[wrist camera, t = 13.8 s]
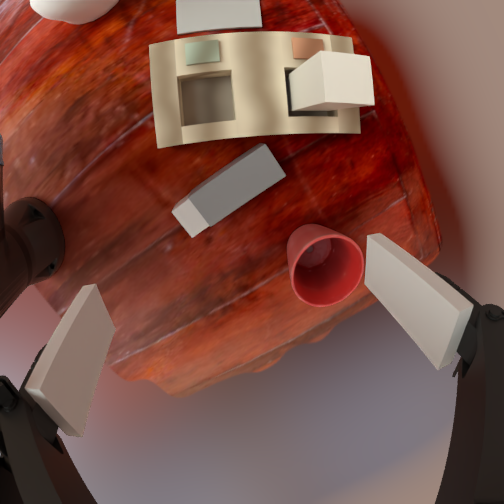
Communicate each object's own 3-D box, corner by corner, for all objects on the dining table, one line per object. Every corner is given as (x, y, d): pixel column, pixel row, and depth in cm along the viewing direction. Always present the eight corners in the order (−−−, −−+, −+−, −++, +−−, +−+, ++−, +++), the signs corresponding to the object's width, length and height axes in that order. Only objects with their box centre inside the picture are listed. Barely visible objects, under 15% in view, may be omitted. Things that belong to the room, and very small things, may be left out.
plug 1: (195, 227, 43) (193, 239, 38) (175, 202, 41) (170, 211, 36) (278, 170, 41) (286, 175, 36) (259, 142, 39) (265, 144, 34)
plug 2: (286, 112, 35) (325, 102, 22) (283, 78, 33) (320, 50, 20) (321, 112, 36) (374, 105, 22) (318, 79, 34) (369, 56, 20)
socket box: (166, 146, 37) (156, 148, 31) (158, 56, 31) (148, 43, 26) (342, 132, 39) (362, 133, 33) (335, 47, 33) (353, 36, 27)
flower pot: (268, 269, 47) (280, 302, 38) (288, 206, 43) (307, 226, 34) (325, 280, 49) (346, 312, 40) (348, 222, 45) (376, 244, 36)
